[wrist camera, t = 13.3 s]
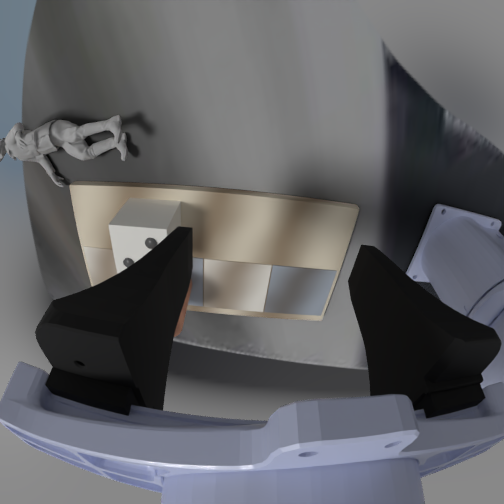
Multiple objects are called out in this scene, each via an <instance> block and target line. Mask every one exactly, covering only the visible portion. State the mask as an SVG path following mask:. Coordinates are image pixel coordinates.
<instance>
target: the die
mask: <svg viewBox="0 0 504 504" xmlns="http://www.w3.org/2000/svg"><path fill="white" fill-rule="evenodd" d="M178 226H180V227H181V201H173V200H159V199H142V198H129V199H128V200H127V202H126V203H125V204H124V205H123V207H122V208H121V209H120V210H119V212H118V213H117V214H116V215H115V217H114V218H113V219H112V221H111V222H110V223H109V231H110V237H111V243H112V249H113V254H114V259H115V265H116V269H117V273H120V272H121V271H123V270H125V269H126V268H128V267H129V266H131V265H132V264H134V263H135V262H137V261H138V260H139V259H141V258H142V257H143V256H144V255H146V254H147V253H148V252H149V251H151V250H152V249H153V248H154V247H155V246H157V245H158V244H159V243H160V242H161V241H162V240H163V239H164V238H166V237H167V236H168V235H169V234H170V233H171V232H172V231H173V230H175V229H176V228H177V227H178Z"/></svg>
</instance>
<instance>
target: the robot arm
mask: <svg viewBox="0 0 504 504" xmlns="http://www.w3.org/2000/svg"><path fill="white" fill-rule="evenodd" d="M443 209H444V211H443V212H442V210H443ZM500 227H501V221H500V220H499V219H495V218H492V217H488V216H485V215H481V214H477V213H474V212H470V211H466V210H462V209H458V208H454V207H450V206H446V205H442V204H437V205H435V206H434V208H433V210H432V213H431V216H430V218H429V221H428V223H427V226H426V228H425V231H424V233H423V236H422V238H421V240H420V243H419V245H418V247H417V250H416V252H415V254H414V257H413V259H412V261H411V263H410V265H409V268H408V270H407V272H406V273H405V272H403V271H402V270H401V269H400V268H399V267H398V266H397V265H396V264H394V263H393V262H392V261H391V260H390V259H389V258H388V257H387V256H386V255H384V254H383V253H382V252H381V251H380V250H378V249H377V248H375V247H374V246H368V245H361V247H360V250H359V253H358V255H357V258H356V261H355V264H354V267H353V269H352V272H351V275H350V277H349V280H348V283H349V290H350V296H351V301H352V304H353V308H354V311H355V314H356V317H357V321H358V324H359V327H360V331H361V334H362V337H363V341H364V345H365V349H366V356H367V363H368V370H369V380H370V396H365V397H349V398H326V399H309V400H301V401H295V402H292V403H290V404H287V405H284V406H281V407H280V408H279V409H278V410H276V411H275V412H274V413H273V414H272V415H271V416H270V417H269V419H268V421H259V420H240V419H226V418H214V417H206V416H197V415H189V414H182V413H175V412H169V411H163V405H164V395H165V387H166V379H167V373H168V366H169V360H170V354H171V348H172V343H173V338H174V334H175V330H176V326H177V323H178V320H179V317H180V314H181V311H182V308H183V304H184V301H185V298H186V295H187V292H188V289H189V285H190V280H191V275H192V269H193V228H192V227H180V226H178V227H177V228H176V229H175V230H173V231H172V232H171V233H170V234H169V235H168V236H167V237H166V238H164V239H163V240H162V241H161V242H160V243H159V244H158V245H157V246H155V247H154V248H153V249H152V250H151V251H149V252H148V253H147V254H146V255H144V256H143V257H142V258H141V259H139V260H138V261H137V262H135V263H134V264H132V265H131V266H129V267H128V268H126V269H125V270H123V271H121V272H120V273H118V274H116V275H114V276H113V277H111V278H109V279H107V280H105V281H103V282H101V283H99V284H97V285H95V286H93V287H90V288H88V289H85V290H83V291H81V292H78V293H75V294H72V295H69V296H66V297H63V298H60V299H56V300H53V301H52V303H51V304H50V306H49V308H48V309H47V311H46V312H45V315H44V316H43V318H42V320H41V321H40V323H39V324H38V326H37V328H36V331H35V333H36V339H37V341H38V343H39V346H40V347H41V349H42V350H43V352H44V354H45V356H46V357H47V359H48V360H49V362H50V363H51V365H52V366H53V368H52V370H51V372H50V375H49V374H48V373H47V372H46V371H44V370H42V369H40V368H37V367H34V366H32V365H29V364H26V363H24V362H18V364H17V366H16V368H15V370H14V372H13V375H12V377H11V379H10V381H9V383H8V385H7V388H6V390H5V392H4V394H3V397H2V399H1V401H0V423H1V424H3V425H4V426H5V427H6V428H7V429H9V430H10V431H11V432H12V433H14V434H15V435H16V436H17V437H19V438H20V439H21V440H22V441H24V442H25V443H26V444H28V445H29V446H31V447H33V448H35V449H37V450H40V451H42V452H44V453H46V454H48V455H51V456H53V457H55V458H57V459H60V460H62V461H65V462H67V463H69V464H72V465H74V466H77V467H79V468H82V469H84V470H87V471H90V472H92V473H95V474H98V475H101V476H103V477H106V478H109V479H113V480H116V481H119V482H122V483H125V484H129V485H132V486H136V487H140V488H143V489H147V490H152V491H155V492H160V493H162V498H161V504H425V501H424V495H423V489H422V483H421V478H422V477H424V476H427V475H430V474H433V473H436V472H438V471H441V470H443V469H446V468H448V467H451V466H453V465H456V464H458V463H461V462H463V461H465V460H467V459H470V458H472V457H474V456H477V455H479V454H481V453H483V452H485V451H487V450H488V449H490V448H491V447H493V446H494V445H496V444H497V443H498V442H500V441H501V440H502V439H504V236H503V235H502V234H501V233H500V232H499V229H500ZM414 275H415V276H414ZM413 276H414V277H413ZM415 281H420V282H430V283H431V284H432V286H433V288H434V289H435V291H436V293H437V295H438V296H439V298H440V300H441V301H440V300H438V299H437V298H436V297H434V296H433V295H432V294H430V293H429V292H427V291H426V290H425V289H423V288H422V287H421V286H420V285H419V284H417V283H416V282H415Z"/></svg>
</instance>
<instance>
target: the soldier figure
mask: <svg viewBox="0 0 504 504" xmlns="http://www.w3.org/2000/svg"><path fill="white" fill-rule="evenodd" d="M121 124H122V121H121V117H120V115H117V116H114V117H111V118H110V119H108V120H104V121H99V122H94V123H87V124H85V125H82V126H77V125H76V124H74V123H71V122H70V121H67V120H56V119H55V120H52V121H50V122H48V123H46V124H44V125H43V126H40V127H38V128H36V129H35V130H28V129H27V130H24V126H23V125H22V123H17V124H15V125H14V126H13V128H12V129H11V130H10V131H9V133H8V135H7V137H6V138H3V140H2V139H0V162H1V160H2V159H3V157H4V155H5V154H6V152H7V153H8V154H9V155H10V157H12V158H13V159H14V160H16V157H17V158H18V159H19V160H21V161H34V162H38V163H40V164H41V165H42V166H43V167H44V169H45V170H46V172H47V173H48V175H49V176H51V179H52V180H53V181H54V183H55V184H57V185H58V186H60V187H64V186H63V185H61V184H62V183H59V180H60V179H64V178H61V177H59V176H57V175H55V173H56V172H55V169H54V168H53V166H52V164H51V162H50V160H49V159H48V157H47V156H46V155H47V154H48V153H51V152H54V151H58V149H59V148H60V147H63V148H64V149H65V151H66V152H67V153H68V154H70V155H72V156H74V157H76V158H78V159H80V160H89V159H95V158H96V157H97V156H98V155H100V154H101V153H103V152H105V151H108V150H110V149H113V148H115V147H117V149H118V150H119V151H120V152H121V155H122V156H121V159H122V160H123V161H126V159H127V155H128V149H127V146H126V142H127V137H126V134H125V133H123V134H122V130H121V127H120V126H121ZM104 130H110V131H111V132H112V133H113V134H114V136H115V137H111V138H109V139H107V140H102V141H100V142H97V143H93V144H92V145H91V146H88V145H87V143H86V141H85V140H84V139H85V138H86V137H87V136H89V135H92V134H95V133H99V132H102V131H104Z"/></svg>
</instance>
